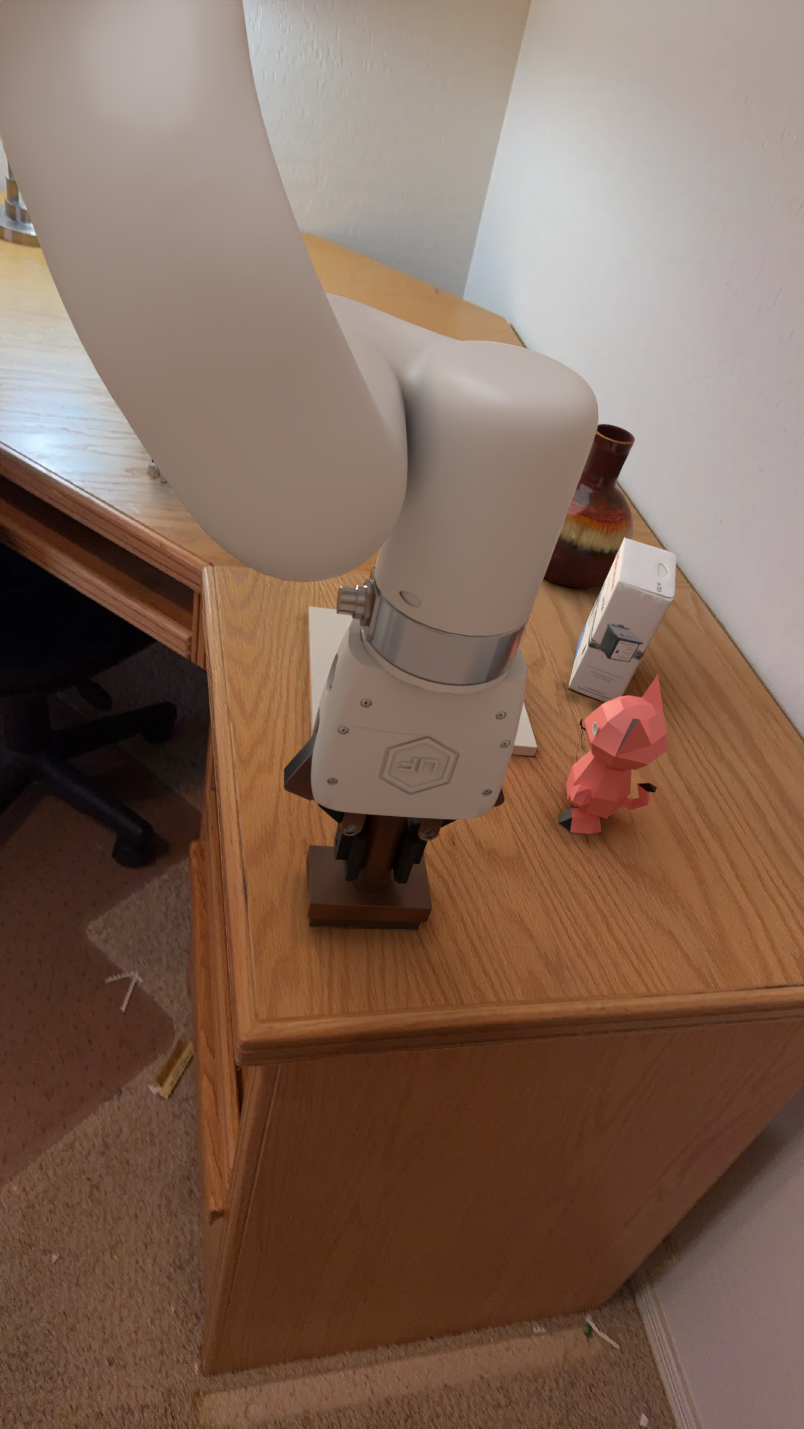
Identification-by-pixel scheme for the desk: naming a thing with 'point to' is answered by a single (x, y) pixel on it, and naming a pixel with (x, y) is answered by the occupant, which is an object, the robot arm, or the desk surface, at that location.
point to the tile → (322, 649)
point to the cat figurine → (615, 759)
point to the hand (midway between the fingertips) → (373, 862)
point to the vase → (595, 515)
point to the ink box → (623, 620)
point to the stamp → (367, 884)
